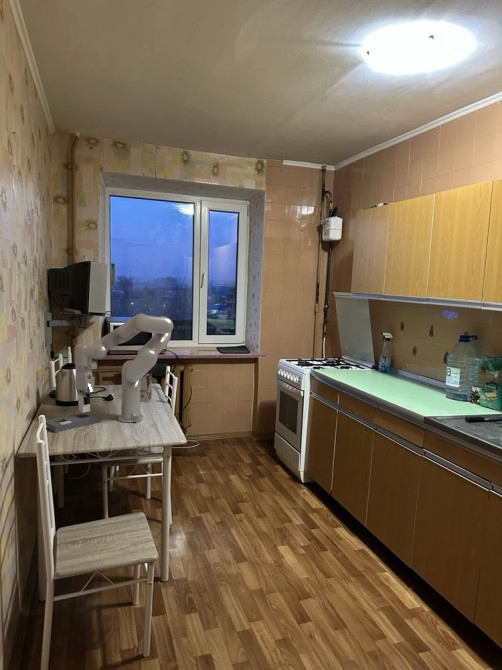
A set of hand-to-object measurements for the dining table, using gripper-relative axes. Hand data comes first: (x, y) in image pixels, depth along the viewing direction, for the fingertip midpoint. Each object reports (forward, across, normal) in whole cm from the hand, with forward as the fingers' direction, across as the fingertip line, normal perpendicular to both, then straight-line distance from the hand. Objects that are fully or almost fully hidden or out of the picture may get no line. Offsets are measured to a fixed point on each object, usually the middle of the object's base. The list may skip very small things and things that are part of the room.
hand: (84, 403), depth 227 cm
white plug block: (+4, 0, 0) cm, 4 cm away
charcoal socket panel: (+10, 0, +7) cm, 12 cm away
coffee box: (+11, +13, -49) cm, 52 cm away
